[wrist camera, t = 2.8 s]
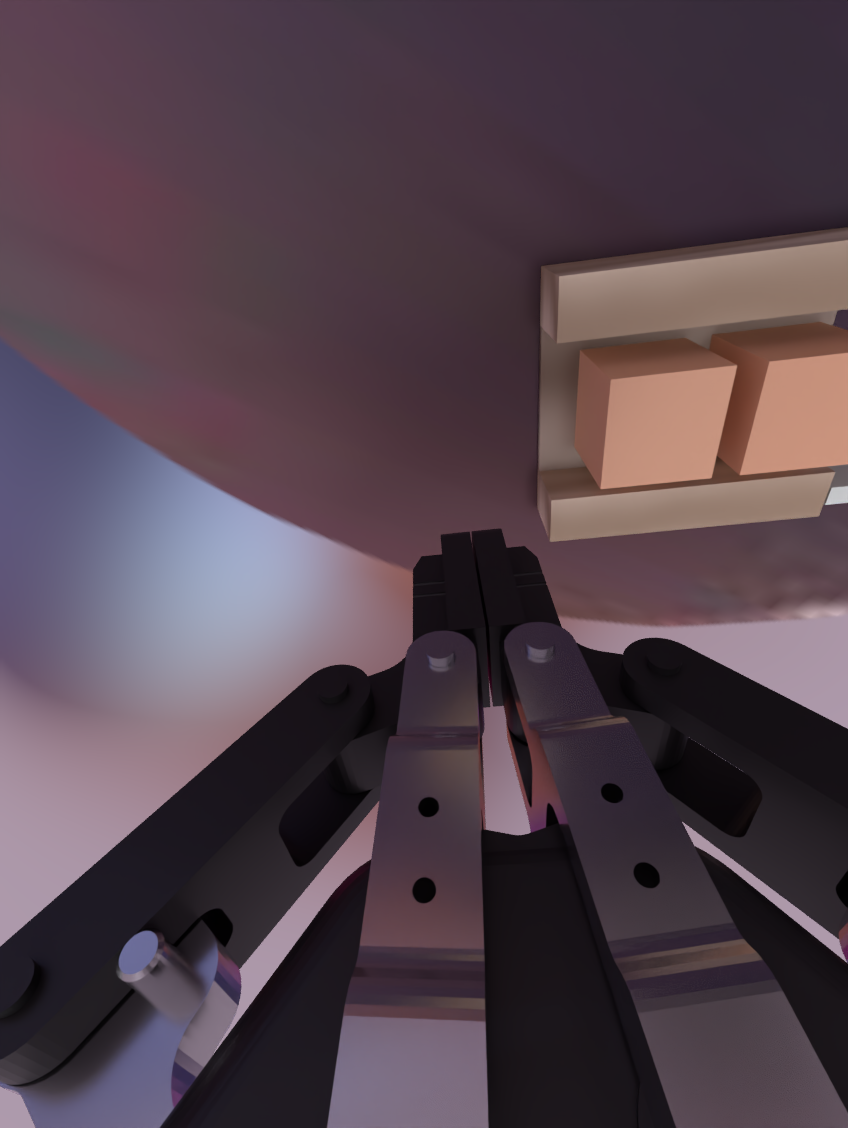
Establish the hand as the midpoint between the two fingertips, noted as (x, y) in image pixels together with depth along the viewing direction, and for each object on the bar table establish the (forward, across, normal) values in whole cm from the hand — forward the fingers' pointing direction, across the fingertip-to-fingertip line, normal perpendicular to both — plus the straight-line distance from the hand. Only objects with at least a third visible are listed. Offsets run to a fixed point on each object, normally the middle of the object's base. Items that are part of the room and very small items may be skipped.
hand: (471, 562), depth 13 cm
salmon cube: (+10, -12, 0) cm, 16 cm away
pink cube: (+10, -7, 0) cm, 13 cm away
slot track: (+11, -9, 0) cm, 14 cm away
